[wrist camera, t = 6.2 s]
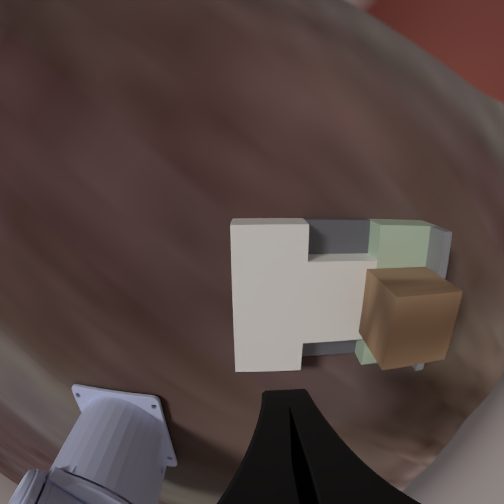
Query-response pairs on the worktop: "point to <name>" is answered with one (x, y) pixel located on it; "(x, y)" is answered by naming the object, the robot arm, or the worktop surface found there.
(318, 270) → the board
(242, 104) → the worktop surface
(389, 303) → the walnut block
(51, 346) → the worktop surface
